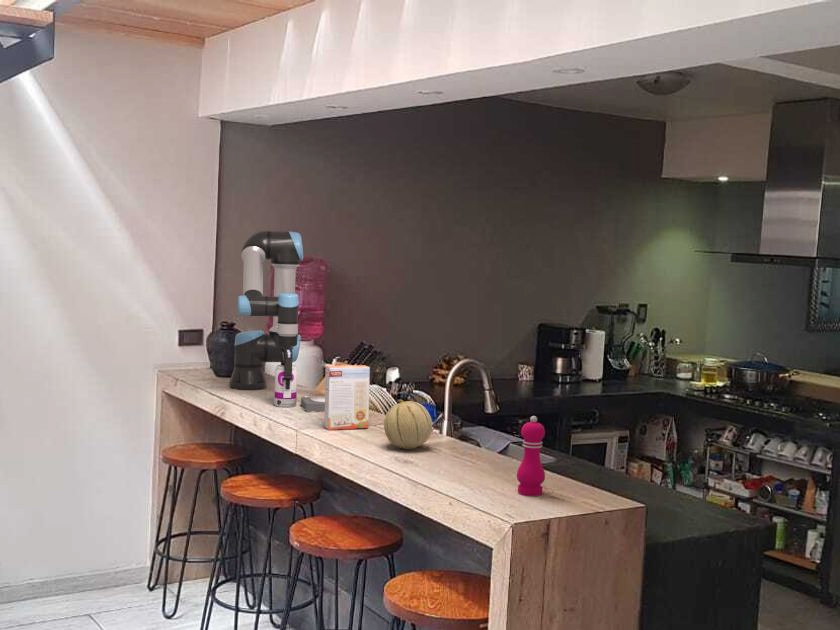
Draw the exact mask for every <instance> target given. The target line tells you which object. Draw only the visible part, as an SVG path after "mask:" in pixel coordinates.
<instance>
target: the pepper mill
mask: <svg viewBox="0 0 840 630" xmlns="http://www.w3.org/2000/svg"><path fill="white" fill-rule="evenodd" d="M520 430H521V431H520V433H521V434H520V435H521V437H522V438H523V440H522V447H523V458H522V460H521V463H520V464H519V466H518V468H517V471H516V479H517V481H518V482H519V484H518V485H517V493H518V494H519V495H522V496H527V497H538V496H541V495H543V486H542V484H543V483H544V482H545V479H546V473H545V470H544V467H543V464H542V461H541V457H540V456H541V454H540V453H541V448H543V441H542V440H543V438H544V437H545V434H546V430H545V427H544V425H542V424H541V423H540V422H538V417H537V416H535V415H532V416H530V419H529V421H527V422H526V423H524V424H523V426H522V427H521V429H520Z"/></svg>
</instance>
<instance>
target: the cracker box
mask: <svg viewBox="0 0 840 630" xmlns="http://www.w3.org/2000/svg"><path fill="white" fill-rule="evenodd" d="M370 369H371V366H370V367H369V366H368V365H365V364H364V365H362V364H359V365H351V364H349V365H325V370H324V371H325V373H324V374H325V376H324V377H325V380H324V384H325V385H324V396H325V412H324V422H323V423H324V428H325V429H326V430H327V431H338V429H343V430H357V429H356V428H368V429H369V414H370V413H369V411H370V410H369V409H370V408H369V407H370V374H371V373H370V372H371V370H370Z"/></svg>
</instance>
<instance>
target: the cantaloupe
mask: <svg viewBox="0 0 840 630" xmlns="http://www.w3.org/2000/svg"><path fill="white" fill-rule="evenodd" d="M397 402H398V403H396V404H394V405H393V406H391V407H390V408H389V409H388V410H387V412H386V414H385V416H384V420H383V421H384V422H383V430H384V433H385V436H386V438H387V440H388V441H389V442H390V443H391V444H392V445H393V446H395V447H396V448H400V449H403V448H405V449H404V450H414V449H416V448H418V447H419V446H422V445H424V444H425V443H426V442H427V441H428V440H429V439H430V438H431V437H430V436H431V435H432V432H433V420H432V416H431V415H430V413H429V411H428V410H427V408H426V407H425V406H424V405H422V404H421V403H418V402H416V401H412V400H407V401H404V400H403V399H401V398H400V399H398V400H397ZM413 448H414V449H413Z"/></svg>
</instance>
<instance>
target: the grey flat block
mask: <svg viewBox="0 0 840 630" xmlns="http://www.w3.org/2000/svg"><path fill="white" fill-rule="evenodd" d="M301 405H302V406H301ZM300 406H301V407H302V409H303V408H304V409H305V410H306V411H325V395H324V396H323V395H321V396H318V395H317V396H309V395H306V394H305V395H303V396H301V397H300ZM304 409H303V410H304ZM305 410H304V411H305ZM306 411H305V412H306Z"/></svg>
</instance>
